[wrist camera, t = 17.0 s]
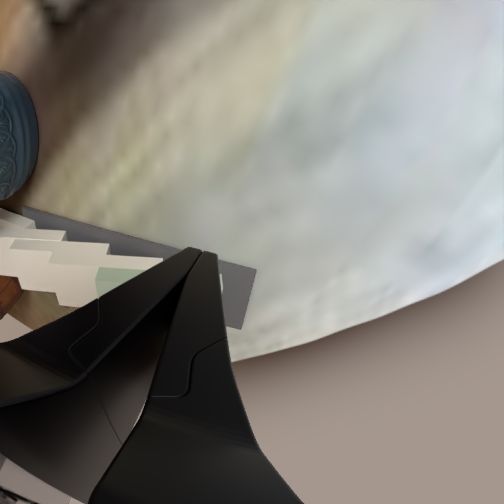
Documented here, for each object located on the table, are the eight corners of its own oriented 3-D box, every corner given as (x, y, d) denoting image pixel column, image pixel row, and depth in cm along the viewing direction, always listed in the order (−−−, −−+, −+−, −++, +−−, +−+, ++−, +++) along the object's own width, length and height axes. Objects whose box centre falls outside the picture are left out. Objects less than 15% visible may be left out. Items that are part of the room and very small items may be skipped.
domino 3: (109, 243, 26) (15, 238, 24) (106, 254, 25) (8, 248, 22) (114, 285, 29) (26, 278, 26) (111, 297, 28) (21, 289, 25)
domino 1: (34, 220, 26) (-15, 202, 27) (24, 228, 25) (-24, 208, 26) (43, 259, 29) (-7, 237, 30) (34, 268, 28) (-15, 243, 28)
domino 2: (66, 230, 26) (-14, 226, 24) (61, 240, 25) (-21, 235, 22) (73, 271, 29) (-3, 264, 26) (69, 281, 28) (-8, 274, 25)
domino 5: (221, 273, 26) (99, 266, 23) (223, 287, 24) (94, 280, 22) (214, 315, 29) (106, 309, 26) (216, 328, 27) (103, 322, 25)
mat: (23, 205, 26) (21, 207, 26) (256, 269, 25) (255, 272, 25) (35, 259, 30) (33, 261, 30) (241, 326, 29) (241, 329, 29)
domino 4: (162, 257, 26) (53, 251, 24) (161, 270, 25) (47, 263, 22) (163, 300, 29) (63, 293, 26) (162, 313, 27) (59, 305, 25)
